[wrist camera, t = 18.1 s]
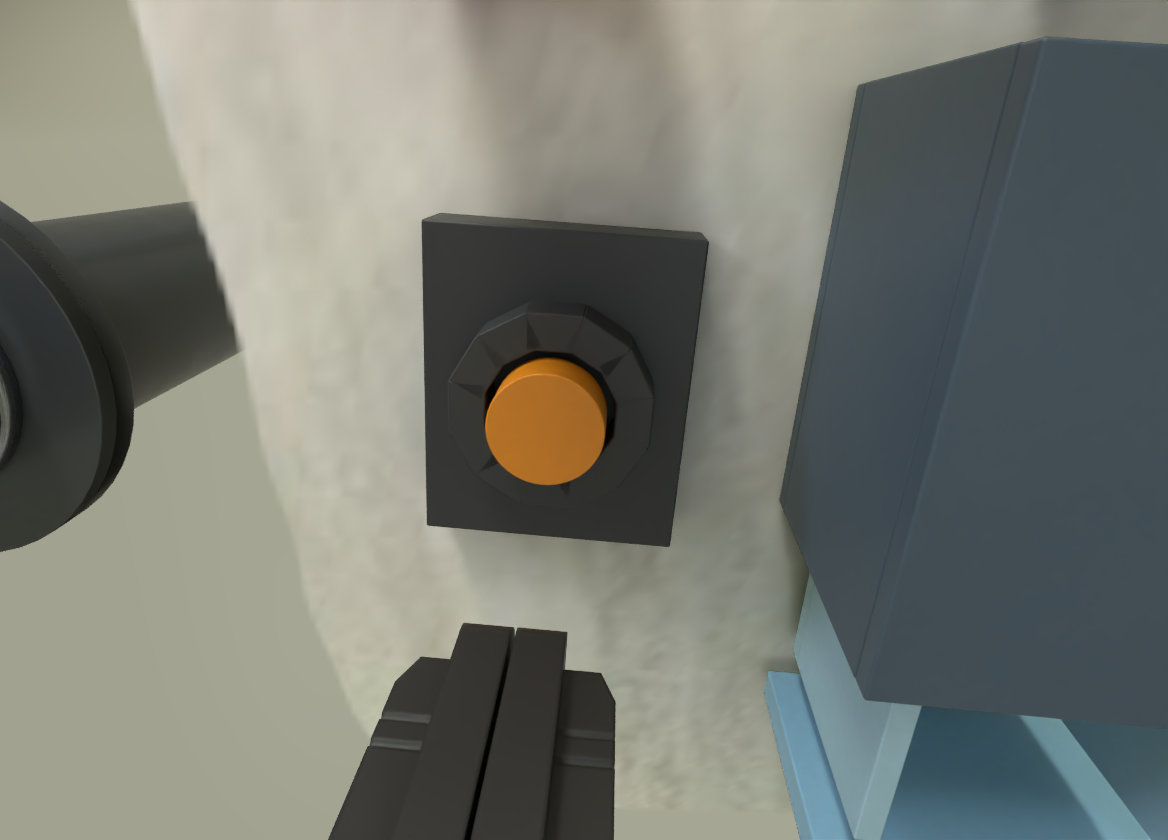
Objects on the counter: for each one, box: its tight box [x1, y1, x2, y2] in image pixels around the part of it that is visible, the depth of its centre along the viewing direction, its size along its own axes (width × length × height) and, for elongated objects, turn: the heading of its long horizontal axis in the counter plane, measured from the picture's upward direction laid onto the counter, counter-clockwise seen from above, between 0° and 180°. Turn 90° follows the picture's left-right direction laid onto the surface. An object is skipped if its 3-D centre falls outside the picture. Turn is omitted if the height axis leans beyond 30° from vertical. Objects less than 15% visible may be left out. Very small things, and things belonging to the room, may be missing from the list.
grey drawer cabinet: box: [780, 37, 1168, 729], centre depth 20 cm, size 15×13×11 cm
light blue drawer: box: [764, 574, 1168, 840], centre depth 24 cm, size 18×11×9 cm, turn 176°
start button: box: [485, 357, 607, 485], centre depth 22 cm, size 4×4×2 cm
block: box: [422, 213, 709, 547], centre depth 24 cm, size 9×11×4 cm
